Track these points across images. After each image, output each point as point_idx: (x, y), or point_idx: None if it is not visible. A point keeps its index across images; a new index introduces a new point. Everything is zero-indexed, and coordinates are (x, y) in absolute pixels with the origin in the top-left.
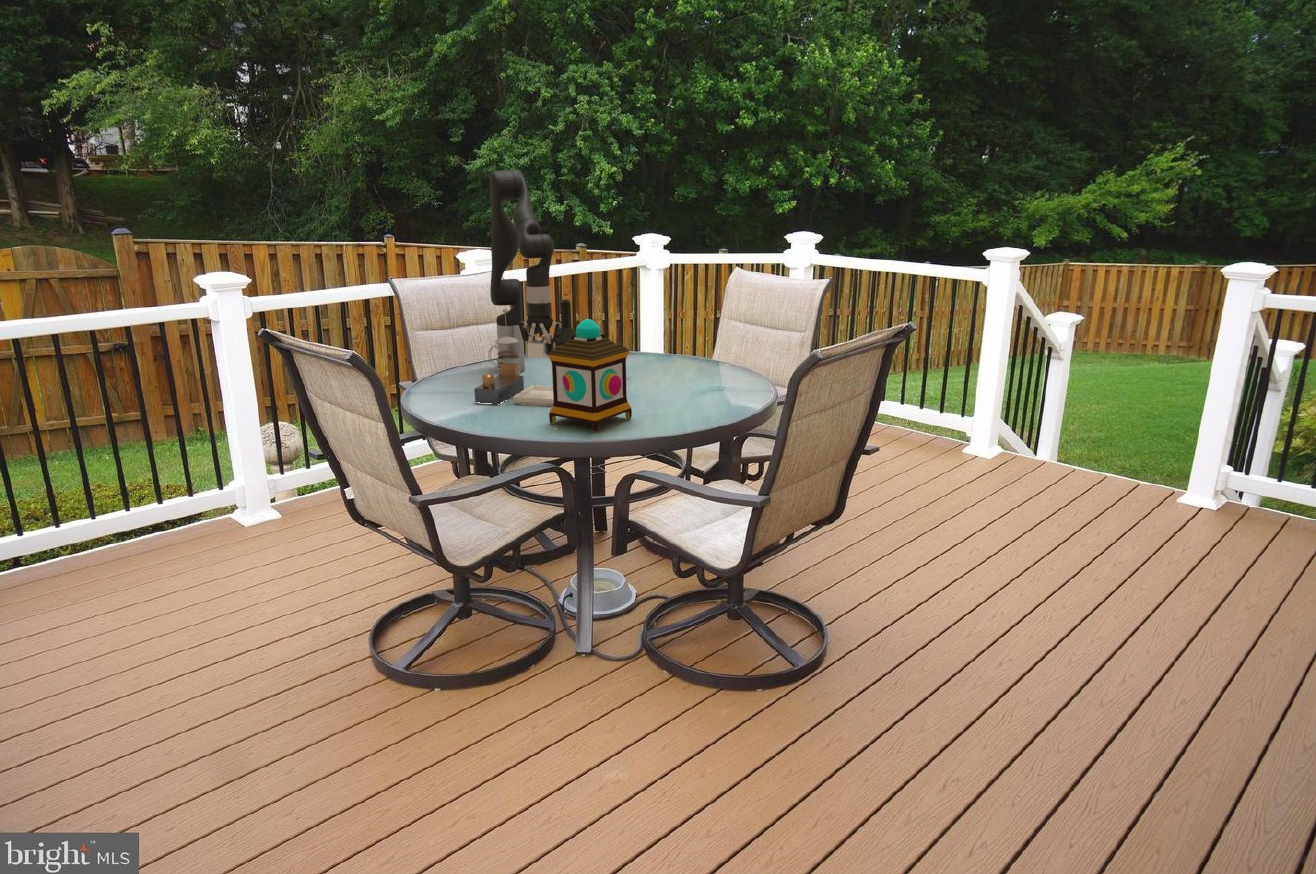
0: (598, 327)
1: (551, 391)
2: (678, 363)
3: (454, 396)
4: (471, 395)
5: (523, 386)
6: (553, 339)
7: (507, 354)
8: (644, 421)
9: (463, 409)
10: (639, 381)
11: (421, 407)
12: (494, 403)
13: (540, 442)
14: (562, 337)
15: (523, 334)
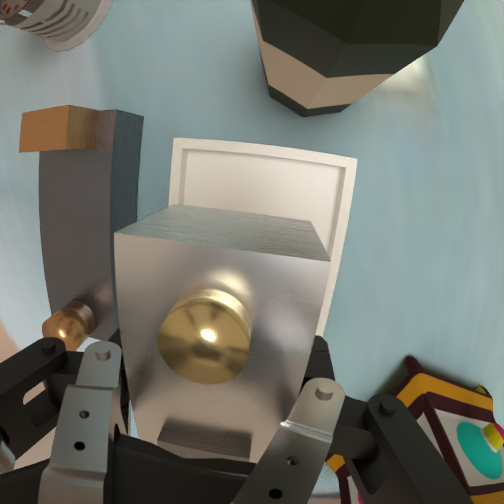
0: None
1: (264, 159)
2: None
3: (10, 230)
4: (32, 213)
5: (136, 117)
6: (350, 460)
7: (19, 6)
8: (496, 390)
9: (82, 350)
10: (489, 6)
11: (14, 327)
12: None
13: (318, 495)
14: (360, 2)
15: (41, 422)
